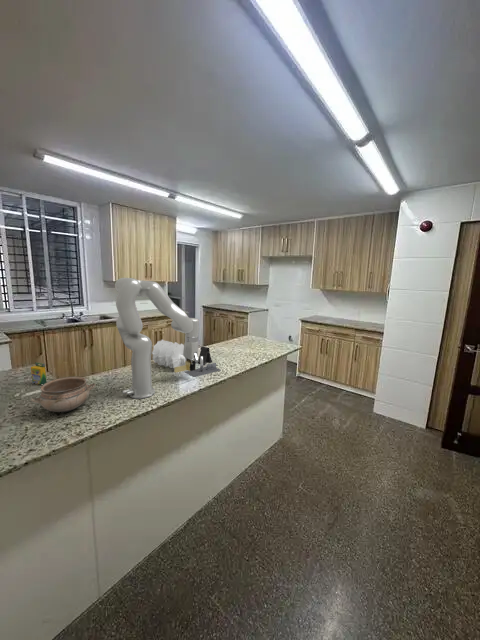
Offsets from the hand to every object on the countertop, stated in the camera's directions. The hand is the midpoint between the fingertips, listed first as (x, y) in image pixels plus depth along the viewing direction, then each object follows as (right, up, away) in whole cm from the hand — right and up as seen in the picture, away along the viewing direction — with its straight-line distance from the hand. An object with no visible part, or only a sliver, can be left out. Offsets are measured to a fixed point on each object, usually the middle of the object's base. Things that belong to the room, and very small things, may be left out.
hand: (190, 369), depth 160 cm
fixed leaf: (+9, -4, +18) cm, 20 cm away
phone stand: (+5, -2, +31) cm, 31 cm away
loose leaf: (-3, 0, -3) cm, 4 cm away
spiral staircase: (-16, -3, +21) cm, 27 cm away
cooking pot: (-50, -12, -37) cm, 63 cm away
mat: (+5, -4, +15) cm, 16 cm away
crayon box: (-82, -7, -10) cm, 83 cm away
